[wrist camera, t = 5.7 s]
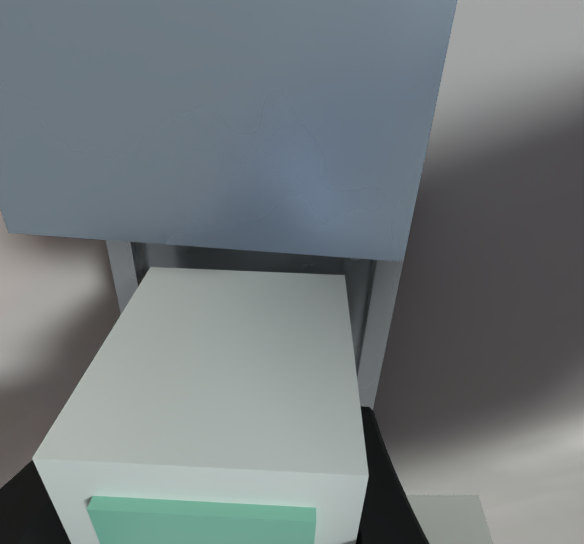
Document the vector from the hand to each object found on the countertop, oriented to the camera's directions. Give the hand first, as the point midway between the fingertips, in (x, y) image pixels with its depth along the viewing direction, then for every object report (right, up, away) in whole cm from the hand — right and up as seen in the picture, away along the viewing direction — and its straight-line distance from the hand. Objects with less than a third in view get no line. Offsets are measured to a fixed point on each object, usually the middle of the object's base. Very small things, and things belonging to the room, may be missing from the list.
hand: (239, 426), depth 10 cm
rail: (0, +2, +3) cm, 4 cm away
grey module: (0, +1, +2) cm, 2 cm away
